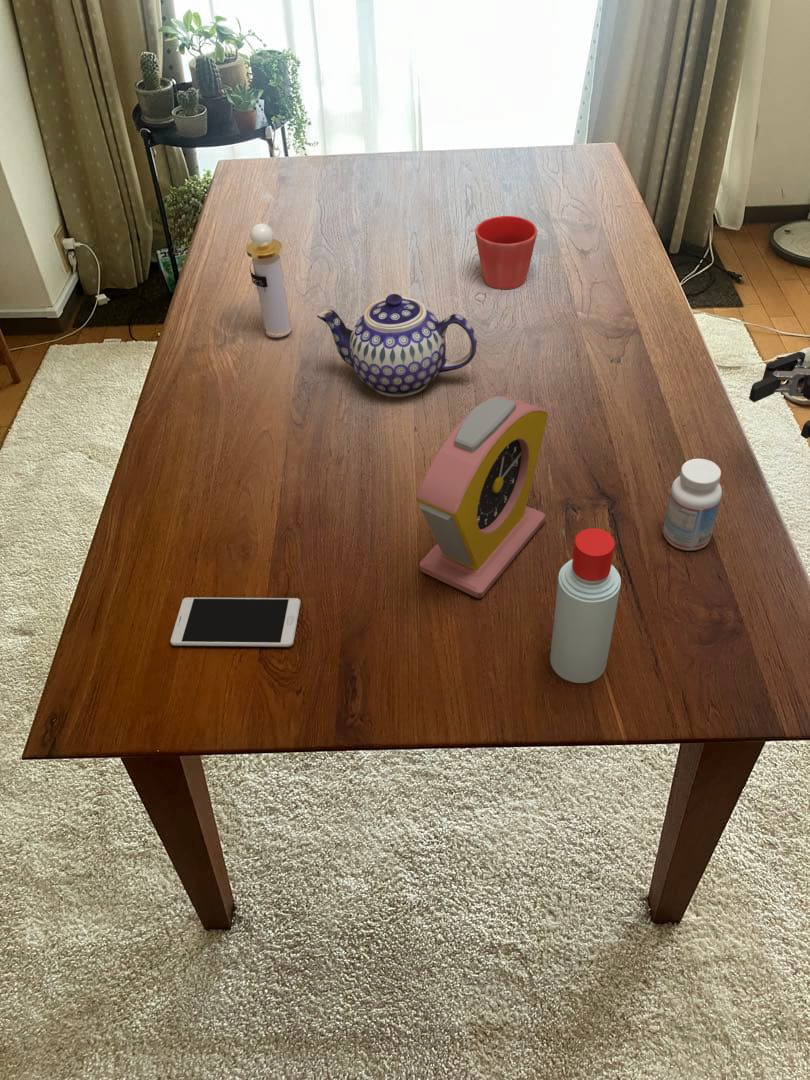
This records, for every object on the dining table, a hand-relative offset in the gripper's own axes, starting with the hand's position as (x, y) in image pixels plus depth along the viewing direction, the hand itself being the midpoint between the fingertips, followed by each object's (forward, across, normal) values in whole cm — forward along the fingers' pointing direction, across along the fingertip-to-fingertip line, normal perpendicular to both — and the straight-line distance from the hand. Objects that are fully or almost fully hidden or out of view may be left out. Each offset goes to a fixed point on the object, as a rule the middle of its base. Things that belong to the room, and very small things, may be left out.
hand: (777, 412), depth 109 cm
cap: (+35, +9, -1) cm, 36 cm away
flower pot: (-6, -68, +16) cm, 70 cm away
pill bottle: (+11, 0, +15) cm, 19 cm away
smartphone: (+67, -17, +15) cm, 71 cm away
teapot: (+26, -51, +16) cm, 59 cm away
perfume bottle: (+37, -74, +16) cm, 84 cm away
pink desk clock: (+34, -12, +15) cm, 40 cm away
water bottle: (+35, +9, +15) cm, 39 cm away
